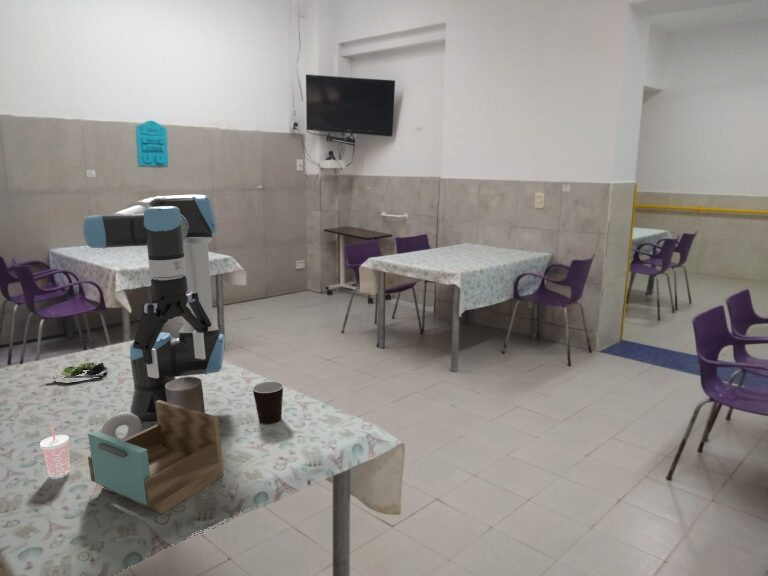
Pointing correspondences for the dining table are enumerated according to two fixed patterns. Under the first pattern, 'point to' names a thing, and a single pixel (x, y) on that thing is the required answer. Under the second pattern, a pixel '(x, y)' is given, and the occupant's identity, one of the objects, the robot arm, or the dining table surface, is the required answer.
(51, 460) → the beverage cup
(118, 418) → the donut
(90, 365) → the salad plate
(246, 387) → the dining table surface
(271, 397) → the coffee mug
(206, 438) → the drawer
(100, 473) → the panel
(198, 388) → the pillar candle
